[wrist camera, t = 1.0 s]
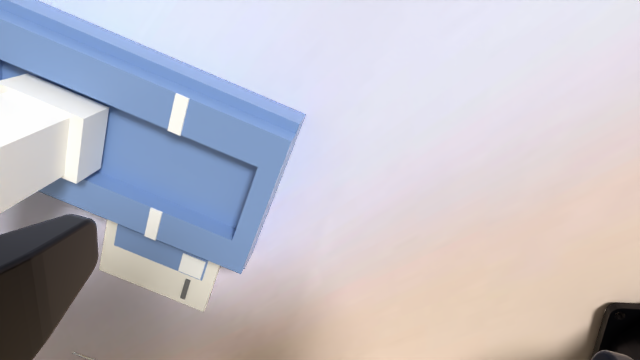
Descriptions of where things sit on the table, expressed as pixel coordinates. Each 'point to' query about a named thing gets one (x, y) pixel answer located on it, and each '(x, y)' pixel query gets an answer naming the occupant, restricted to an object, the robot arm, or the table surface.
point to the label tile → (157, 266)
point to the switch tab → (46, 137)
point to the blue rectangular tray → (159, 135)
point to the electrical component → (82, 356)
